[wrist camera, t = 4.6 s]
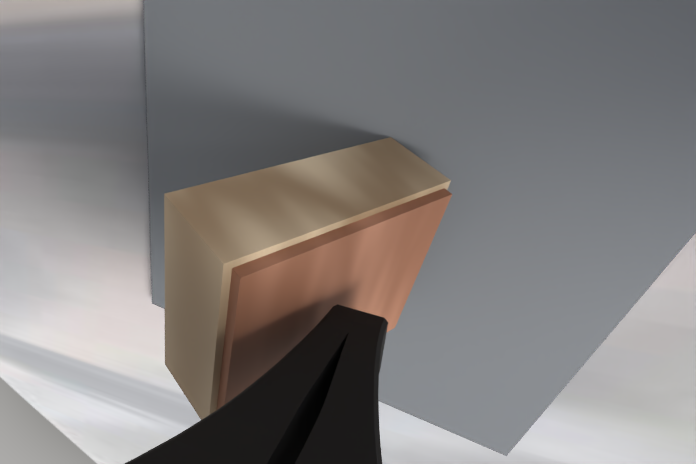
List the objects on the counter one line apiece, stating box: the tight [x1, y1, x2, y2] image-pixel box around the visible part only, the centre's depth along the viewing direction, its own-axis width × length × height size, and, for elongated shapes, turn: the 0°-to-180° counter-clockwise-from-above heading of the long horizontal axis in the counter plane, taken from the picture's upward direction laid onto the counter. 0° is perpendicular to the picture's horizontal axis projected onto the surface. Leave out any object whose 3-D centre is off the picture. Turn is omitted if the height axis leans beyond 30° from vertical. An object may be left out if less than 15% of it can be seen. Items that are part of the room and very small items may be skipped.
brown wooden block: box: [164, 137, 452, 420], centre depth 14 cm, size 3×6×7 cm, turn 168°
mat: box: [143, 0, 696, 456], centre depth 17 cm, size 17×18×1 cm
